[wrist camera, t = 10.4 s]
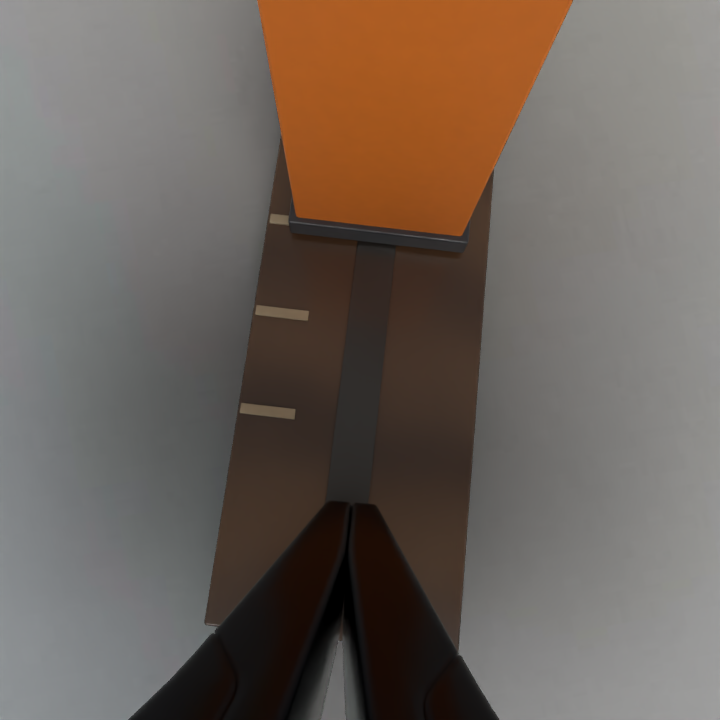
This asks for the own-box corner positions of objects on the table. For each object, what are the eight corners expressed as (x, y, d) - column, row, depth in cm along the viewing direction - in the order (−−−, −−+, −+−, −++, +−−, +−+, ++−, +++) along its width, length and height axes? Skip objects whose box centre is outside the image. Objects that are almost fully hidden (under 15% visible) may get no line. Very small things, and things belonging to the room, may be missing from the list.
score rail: (449, 641, 18) (483, 692, 13) (215, 613, 18) (172, 656, 13) (493, 57, 22) (531, -50, 17) (304, 35, 22) (294, -79, 17)
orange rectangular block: (463, 253, 18) (598, -7, 9) (290, 233, 18) (229, -51, 9) (474, 127, 19) (606, -238, 10) (308, 107, 19) (272, -278, 10)
